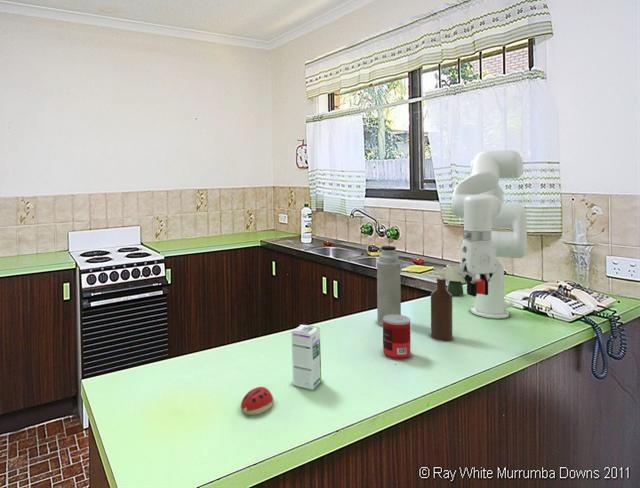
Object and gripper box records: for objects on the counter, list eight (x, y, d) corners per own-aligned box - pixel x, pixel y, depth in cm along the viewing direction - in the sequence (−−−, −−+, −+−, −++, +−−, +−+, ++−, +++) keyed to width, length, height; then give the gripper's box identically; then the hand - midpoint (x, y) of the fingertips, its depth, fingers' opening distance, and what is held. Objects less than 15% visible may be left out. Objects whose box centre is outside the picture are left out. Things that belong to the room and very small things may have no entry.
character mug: (472, 295, 191) (471, 266, 191) (464, 299, 187) (463, 268, 187) (447, 291, 200) (447, 262, 200) (439, 293, 196) (439, 264, 195)
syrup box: (313, 390, 111) (312, 334, 111) (292, 385, 114) (291, 329, 114) (321, 381, 116) (320, 327, 116) (301, 376, 119) (300, 323, 119)
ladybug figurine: (279, 401, 106) (279, 387, 106) (258, 421, 98) (258, 405, 98) (255, 394, 110) (255, 380, 110) (233, 412, 102) (233, 397, 102)
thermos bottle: (375, 319, 163) (374, 244, 162) (397, 320, 163) (396, 244, 162) (380, 327, 155) (379, 248, 154) (403, 327, 155) (402, 248, 154)
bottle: (442, 332, 149) (442, 275, 148) (456, 339, 143) (456, 279, 142) (426, 335, 147) (426, 277, 147) (440, 342, 141) (440, 281, 140)
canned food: (414, 353, 132) (414, 317, 132) (403, 362, 127) (403, 324, 126) (390, 347, 138) (389, 312, 137) (378, 355, 132) (378, 319, 131)
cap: (473, 293, 135) (473, 281, 135) (468, 290, 139) (468, 278, 139) (487, 294, 135) (487, 281, 135) (481, 290, 139) (481, 278, 139)
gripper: (464, 239, 131) (464, 300, 131) (509, 236, 135) (509, 295, 136) (446, 236, 138) (446, 294, 139) (489, 233, 143) (489, 289, 143)
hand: (477, 294), depth 137 cm, fingers closed on cap, 3 cm apart
